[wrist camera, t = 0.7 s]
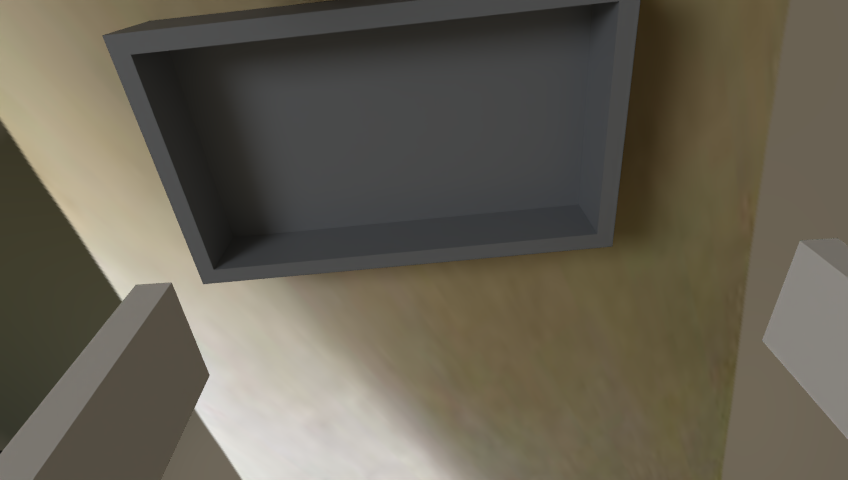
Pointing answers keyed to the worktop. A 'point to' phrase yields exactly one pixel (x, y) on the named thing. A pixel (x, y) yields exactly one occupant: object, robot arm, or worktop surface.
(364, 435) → the worktop surface
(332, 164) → the tray
